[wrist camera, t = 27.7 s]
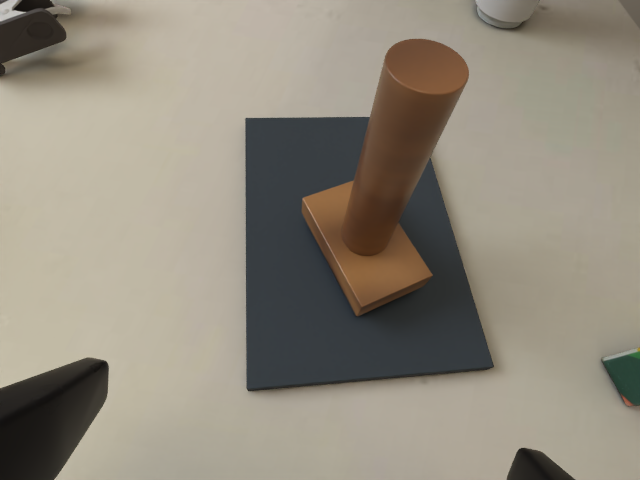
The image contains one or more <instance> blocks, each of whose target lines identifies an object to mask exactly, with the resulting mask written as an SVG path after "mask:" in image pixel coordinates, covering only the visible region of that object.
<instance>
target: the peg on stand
mask: <svg viewBox="0 0 640 480" xmlns="http://www.w3.org/2000/svg"><path fill="white" fill-rule="evenodd" d="M468 77H469V70H468V66H467V64H466V62H465V61H464V59H463V58H462V57H461V56H460V55H459V54H458V53H457V52H455V51H454V50H453V49H451V48H449V47H448V46H446V45H443V44H441V43H438V42H435V41H431V40H426V39H409V40H404V41H401V42H398V43H396V44H395V45H393V46H392V47H391V48H390V49H389V50H388V52H387V53H386V56H385V59H384V63H383V67H382V71H381V75H380V79H379V83H378V87H377V91H376V95H375V99H374V103H373V107H372V111H371V115H370V119H369V123H368V127H367V131H366V135H365V139H364V143H363V147H362V151H361V154H360V158H359V162H358V166H357V170H356V174H355V178H354V181H351V182H348V183H345V184H342V185H339V186H336V187H333V188H330V189H327V190H324V191H321V192H319V193H316V194H313V195H310V196H307V197H304V198H302V214H303V216H304V218H305V220H306V222H307V225H308V227H309V229H310V231H311V233H312V235H313V237H314V239H315V240H316V242H317V244H318V246H319V248H320V250H321V252H322V254H323V256H324V257H325V259H326V261H327V263H328V265H329V267H330V269H331V271H332V273H333V274H334V276H335V278H336V280H337V282H338V284H339V286H340V288H341V290H342V291H343V293H344V295H345V297H346V299H347V301H348V303H349V305H350V307H351V308H352V310H353V312H354V314H355V316H360V315H362V314H364V313H366V312H368V311H371V310H373V309H375V308H377V307H379V306H382V305H384V304H386V303H388V302H390V301H393V300H395V299H397V298H399V297H401V296H404V295H406V294H408V293H410V292H412V291H415V290H417V289H419V288H421V287H423V286H424V285H425V284H426V283H427V282H428V281H429V279H430V278H431V277H432V276H433V275H432V273H431V272H430V270H429V269H428V267H427V266H426V264H425V263H424V261H423V259H422V258H421V256H420V255H419V253H418V252H417V250H416V249H415V247H414V246H413V244H412V243H411V241H410V240H409V238H408V237H407V235H406V234H405V232H404V230H403V229H402V227H401V226H400V224H399V223H398V222H399V220H400V218H401V216H402V214H403V212H404V210H405V208H406V206H407V204H408V202H409V200H410V197H411V195H412V193H413V191H414V189H415V187H416V185H417V183H418V181H419V179H420V177H421V175H422V173H423V171H424V169H425V167H426V165H427V163H428V161H429V159H430V157H431V155H432V152H433V150H434V148H435V146H436V144H437V142H438V140H439V138H440V136H441V134H442V132H443V130H444V128H445V126H446V124H447V122H448V120H449V118H450V116H451V114H452V112H453V110H454V107H455V105H456V103H457V101H458V99H459V97H460V95H461V93H462V91H463V89H464V87H465V85H466V83H467V81H468Z"/></svg>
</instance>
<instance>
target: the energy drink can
mask: <svg viewBox="0 0 640 480" xmlns="http://www.w3.org/2000/svg"><path fill="white" fill-rule="evenodd" d="M539 1H540V0H476V3H477V6H478V7H477V13H478V15H479V16H480V18H482V19H483V20H484V21H485V22H487V23H489V24H491V25H493V26H496V27H500V28H514V27H517V26H519V25H520V24H521V22H523V21H525V20H527V19H529V18H530V17H531V15H532V13H533V12H534V10H535V8H536V6H537V5H538V3H539Z"/></svg>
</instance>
